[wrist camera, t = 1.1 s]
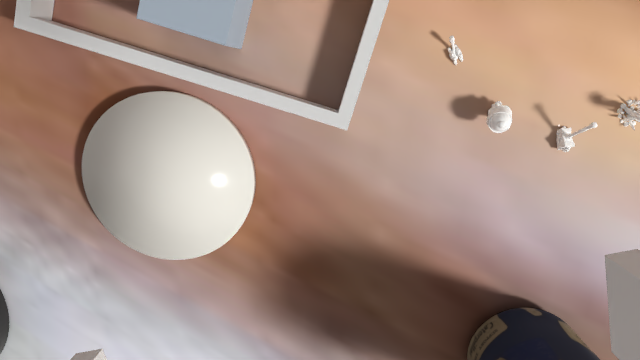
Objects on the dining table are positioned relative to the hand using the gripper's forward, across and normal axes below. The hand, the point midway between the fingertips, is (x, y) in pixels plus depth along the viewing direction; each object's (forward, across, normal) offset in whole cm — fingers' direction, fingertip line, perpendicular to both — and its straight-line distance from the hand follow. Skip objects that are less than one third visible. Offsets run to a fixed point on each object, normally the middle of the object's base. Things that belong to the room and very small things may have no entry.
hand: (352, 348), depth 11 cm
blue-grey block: (+25, -7, +14) cm, 29 cm away
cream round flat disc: (+25, -14, +2) cm, 28 cm away
